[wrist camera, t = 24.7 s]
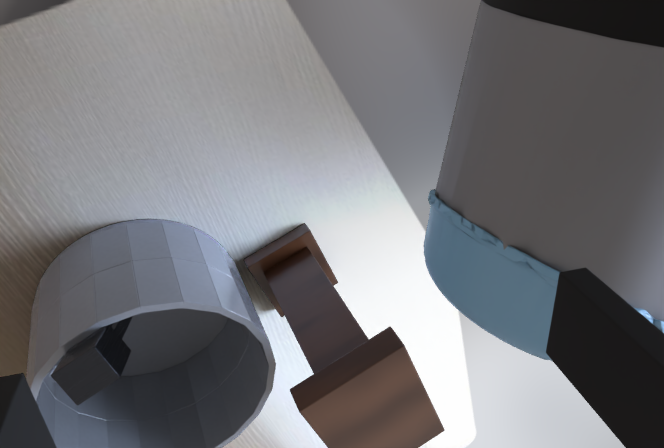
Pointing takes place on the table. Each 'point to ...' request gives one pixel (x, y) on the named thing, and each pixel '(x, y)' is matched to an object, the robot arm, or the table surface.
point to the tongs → (93, 362)
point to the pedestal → (342, 355)
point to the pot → (151, 339)
